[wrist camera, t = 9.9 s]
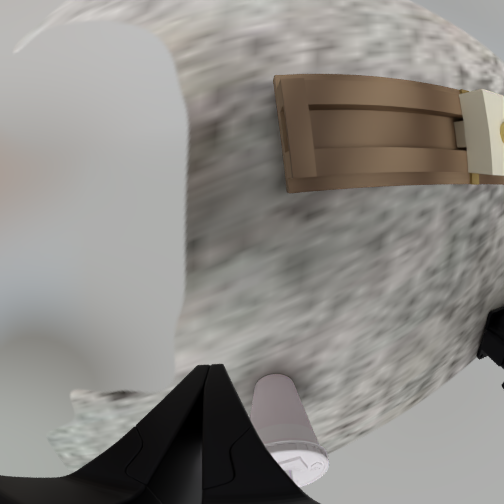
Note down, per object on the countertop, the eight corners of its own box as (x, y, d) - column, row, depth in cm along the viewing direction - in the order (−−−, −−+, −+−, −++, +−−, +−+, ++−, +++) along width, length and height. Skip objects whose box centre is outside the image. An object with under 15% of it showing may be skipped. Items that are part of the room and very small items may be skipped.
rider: (480, 105, 14) (523, 99, 9) (488, 172, 15) (532, 178, 11) (445, 98, 14) (490, 86, 10) (453, 171, 16) (501, 176, 11)
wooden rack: (478, 107, 18) (522, 101, 12) (486, 180, 20) (530, 187, 14) (269, 92, 18) (278, 63, 12) (281, 189, 20) (295, 196, 14)
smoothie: (320, 370, 24) (362, 503, 11) (291, 415, 26) (311, 535, 12) (253, 354, 24) (259, 504, 10) (230, 403, 25) (224, 532, 12)
